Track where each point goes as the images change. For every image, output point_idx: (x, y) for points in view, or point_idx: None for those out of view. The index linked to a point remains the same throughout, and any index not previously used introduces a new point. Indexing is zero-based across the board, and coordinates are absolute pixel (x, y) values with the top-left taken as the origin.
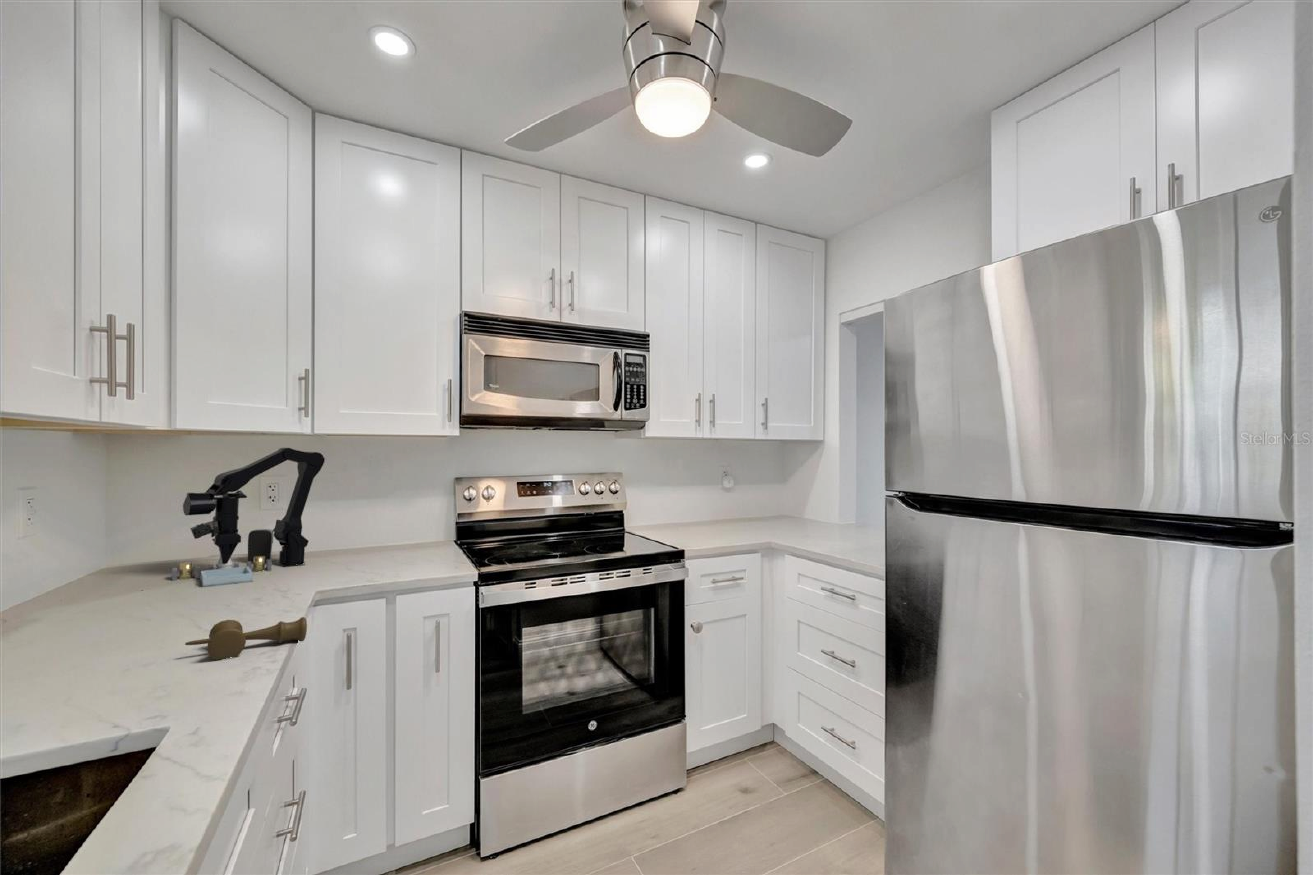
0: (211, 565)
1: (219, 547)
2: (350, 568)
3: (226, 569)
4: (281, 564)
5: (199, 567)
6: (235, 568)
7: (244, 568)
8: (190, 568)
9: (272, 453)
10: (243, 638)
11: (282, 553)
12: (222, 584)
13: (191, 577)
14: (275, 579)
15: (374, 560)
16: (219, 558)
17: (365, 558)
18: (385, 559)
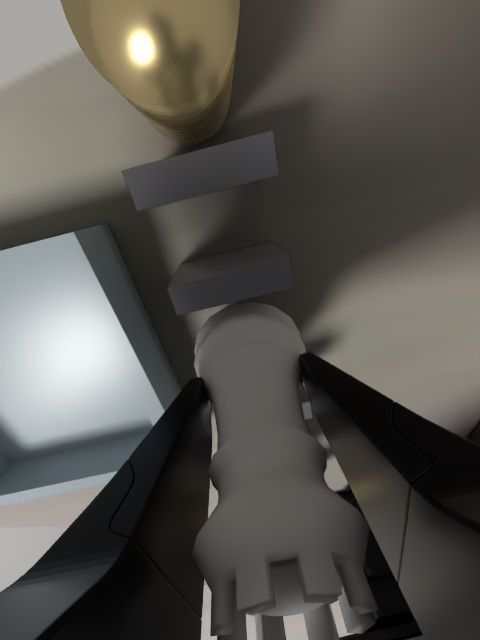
0: (241, 286)
1: (1, 592)
2: (203, 609)
3: (132, 385)
4: (347, 497)
5: (163, 200)
6: (152, 422)
7: None
8: (133, 105)
9: None
10: None
11: (364, 568)
12: None
13: (176, 140)
14: (59, 512)
15: (298, 624)
16: (255, 370)
17: (340, 612)
18: (300, 633)
